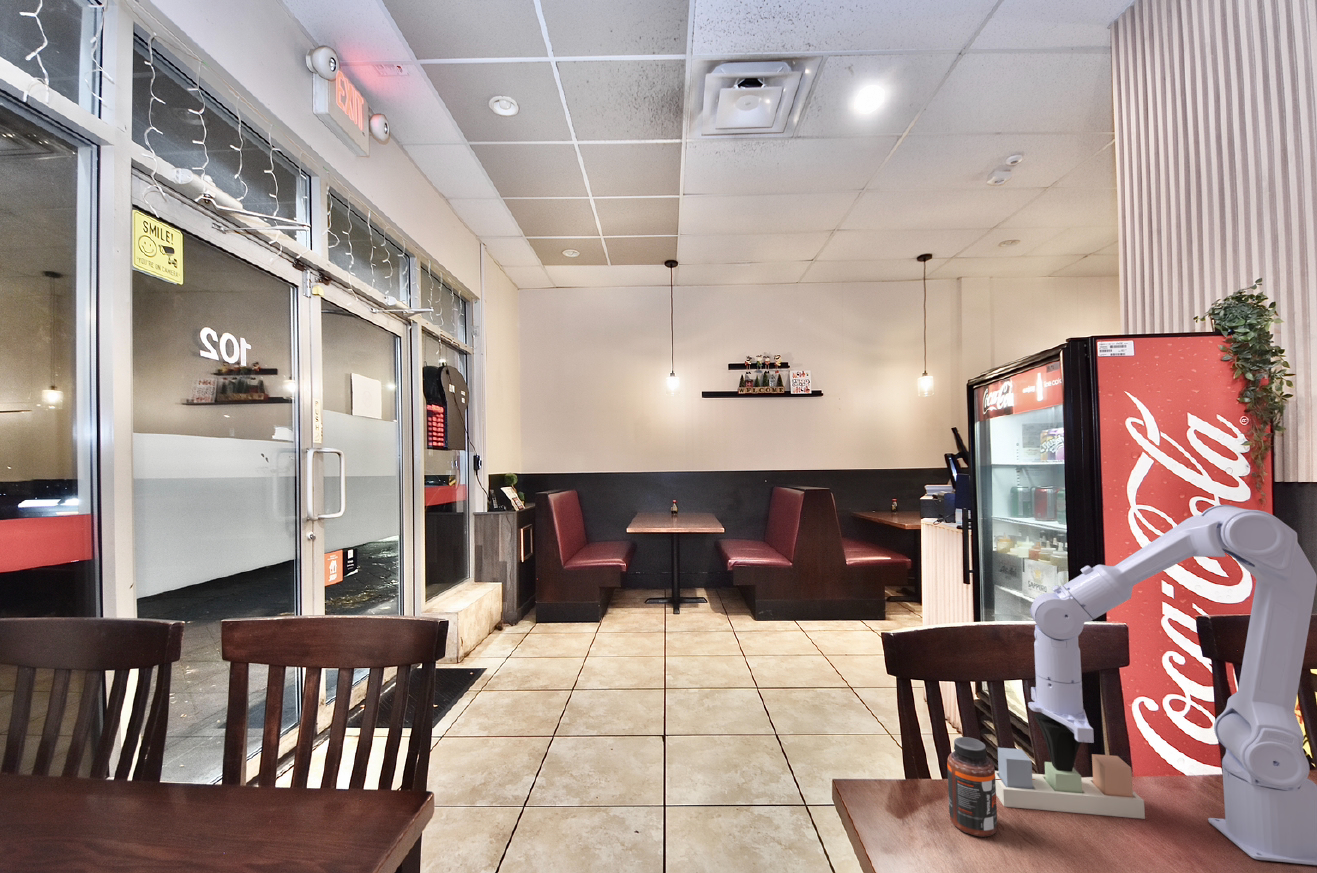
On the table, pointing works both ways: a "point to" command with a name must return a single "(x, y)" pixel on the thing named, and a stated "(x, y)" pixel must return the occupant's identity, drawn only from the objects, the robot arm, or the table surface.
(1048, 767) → the button green
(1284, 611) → the robot arm
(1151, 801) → the table surface
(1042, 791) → the button bar
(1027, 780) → the button slate
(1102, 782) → the button terracotta
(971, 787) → the supplement bottle
